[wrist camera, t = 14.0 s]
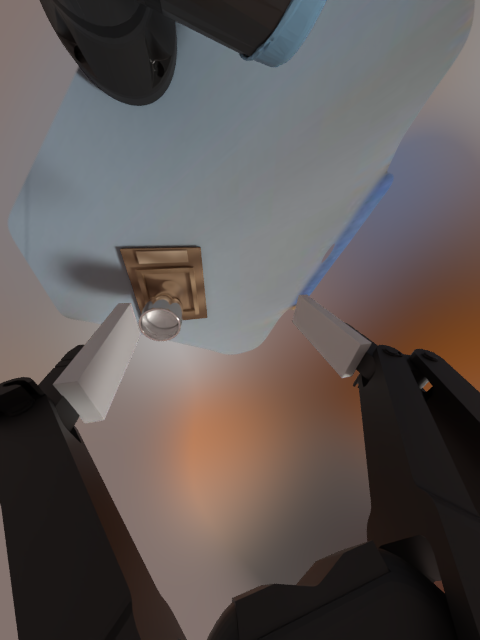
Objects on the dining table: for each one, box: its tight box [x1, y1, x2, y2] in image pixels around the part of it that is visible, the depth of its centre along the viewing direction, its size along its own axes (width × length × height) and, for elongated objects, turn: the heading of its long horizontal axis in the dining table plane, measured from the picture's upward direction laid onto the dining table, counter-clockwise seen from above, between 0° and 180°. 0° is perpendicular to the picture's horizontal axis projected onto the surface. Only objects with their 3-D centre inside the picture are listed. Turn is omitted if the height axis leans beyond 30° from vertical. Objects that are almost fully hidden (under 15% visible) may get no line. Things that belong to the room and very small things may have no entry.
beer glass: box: [139, 281, 184, 341], centre depth 35 cm, size 7×7×15 cm
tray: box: [120, 247, 207, 320], centre depth 41 cm, size 18×16×2 cm
